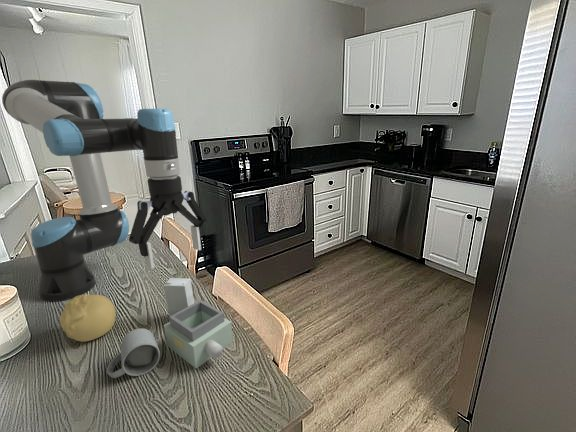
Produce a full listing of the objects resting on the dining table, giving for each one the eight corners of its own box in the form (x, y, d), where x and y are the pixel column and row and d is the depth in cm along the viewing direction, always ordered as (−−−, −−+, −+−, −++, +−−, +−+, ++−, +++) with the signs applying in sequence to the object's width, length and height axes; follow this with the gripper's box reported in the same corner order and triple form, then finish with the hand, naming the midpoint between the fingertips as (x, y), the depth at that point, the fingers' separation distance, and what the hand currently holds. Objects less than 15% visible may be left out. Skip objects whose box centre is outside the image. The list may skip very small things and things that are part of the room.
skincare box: (196, 314, 88) (192, 277, 84) (190, 324, 84) (185, 285, 80) (175, 313, 89) (170, 276, 85) (168, 323, 84) (162, 285, 81)
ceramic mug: (155, 345, 76) (150, 319, 74) (162, 367, 70) (157, 339, 67) (106, 364, 71) (99, 337, 68) (110, 389, 64) (102, 360, 62)
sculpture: (65, 329, 83) (56, 294, 79) (115, 313, 89) (109, 281, 85) (64, 355, 73) (53, 317, 70) (120, 336, 80) (112, 300, 76)
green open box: (166, 345, 76) (161, 316, 74) (203, 323, 84) (200, 296, 82) (203, 375, 67) (199, 344, 65) (241, 347, 76) (239, 317, 73)
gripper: (117, 187, 62) (134, 280, 69) (215, 170, 81) (221, 245, 87) (101, 183, 67) (119, 271, 73) (198, 168, 85) (205, 239, 92)
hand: (175, 257), depth 80 cm, fingers open, 13 cm apart
